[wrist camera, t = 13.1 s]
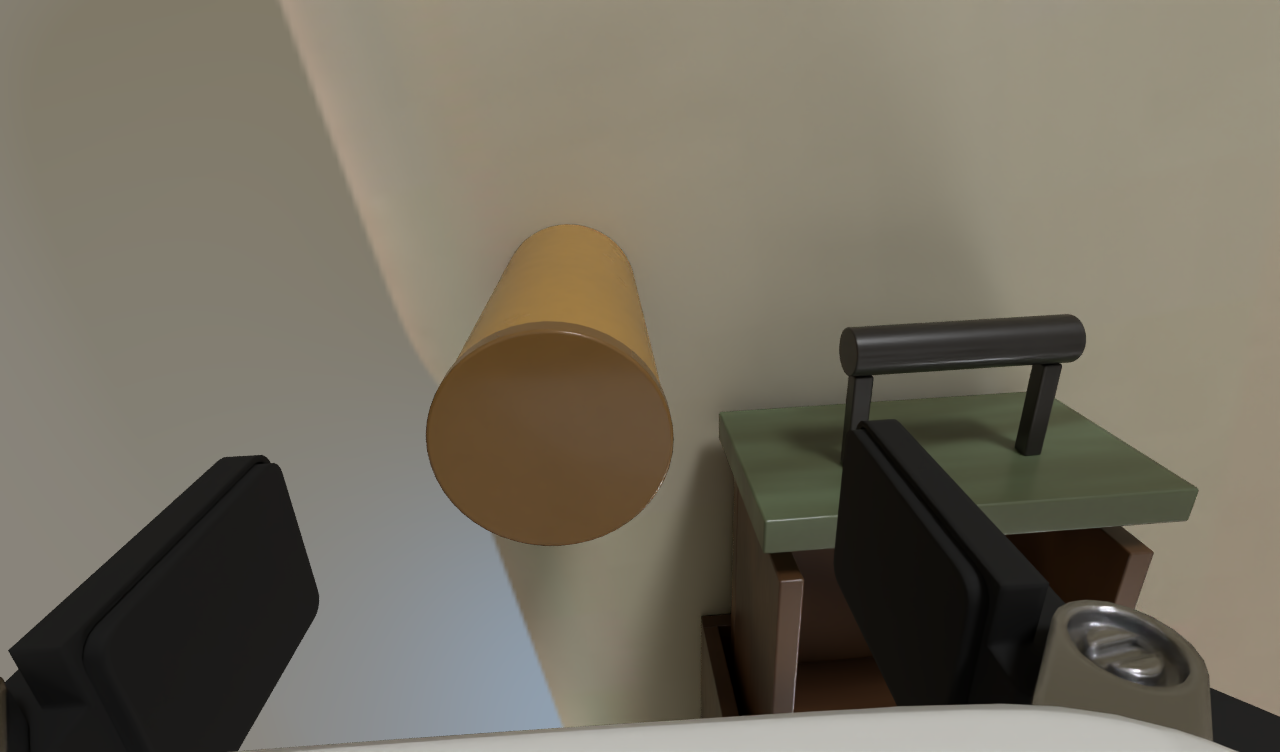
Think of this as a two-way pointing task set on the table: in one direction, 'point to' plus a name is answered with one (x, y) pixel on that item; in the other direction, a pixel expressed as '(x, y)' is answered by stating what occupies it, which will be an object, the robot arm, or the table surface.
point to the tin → (554, 398)
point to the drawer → (970, 454)
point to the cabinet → (717, 669)
